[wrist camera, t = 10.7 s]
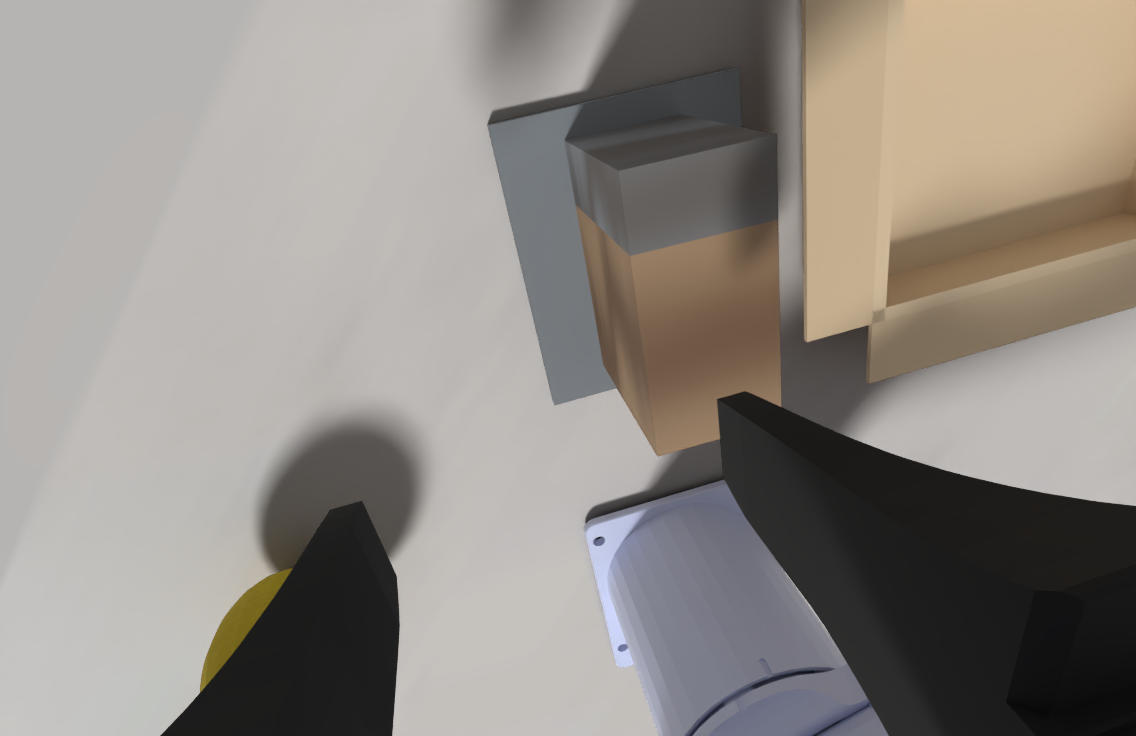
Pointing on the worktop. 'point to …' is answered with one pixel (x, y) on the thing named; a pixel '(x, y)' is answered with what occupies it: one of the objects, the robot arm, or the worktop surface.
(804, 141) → the carton
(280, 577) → the lemon
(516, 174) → the rubber mat
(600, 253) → the walnut box
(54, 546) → the worktop surface
